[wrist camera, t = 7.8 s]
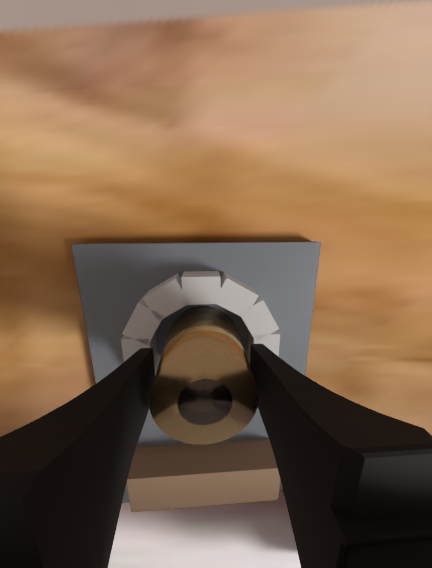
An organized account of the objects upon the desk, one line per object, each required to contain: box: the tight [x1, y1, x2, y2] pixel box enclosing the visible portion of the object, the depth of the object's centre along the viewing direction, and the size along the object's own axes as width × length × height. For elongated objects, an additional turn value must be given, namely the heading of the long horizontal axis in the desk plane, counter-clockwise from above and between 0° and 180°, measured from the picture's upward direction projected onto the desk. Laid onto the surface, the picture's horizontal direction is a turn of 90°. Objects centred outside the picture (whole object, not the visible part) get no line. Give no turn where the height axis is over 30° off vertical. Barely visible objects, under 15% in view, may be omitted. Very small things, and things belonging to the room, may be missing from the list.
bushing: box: [149, 306, 259, 445], centre depth 11 cm, size 4×4×5 cm
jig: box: [71, 241, 321, 512], centre depth 14 cm, size 20×14×3 cm
